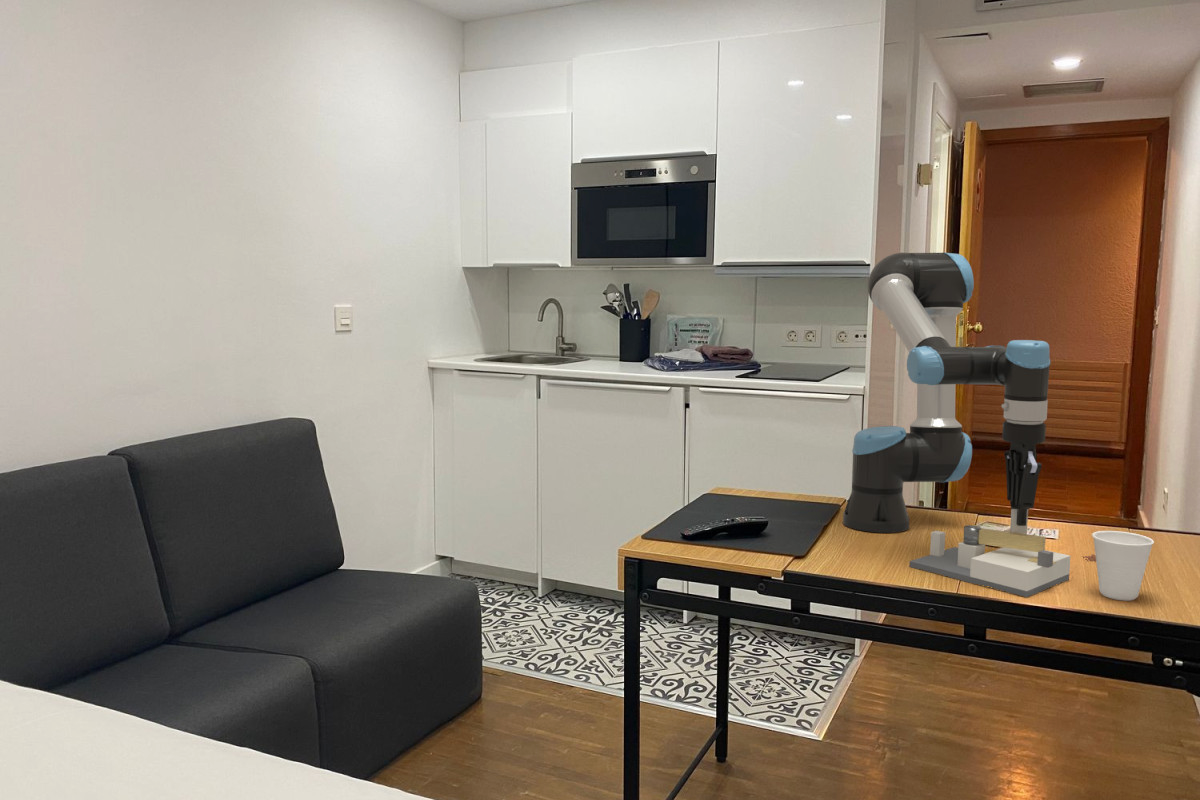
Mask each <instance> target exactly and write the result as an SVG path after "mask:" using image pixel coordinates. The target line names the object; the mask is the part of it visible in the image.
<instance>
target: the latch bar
mask: <svg viewBox="0 0 1200 800" xmlns="http://www.w3.org/2000/svg"><path fill="white" fill-rule="evenodd" d="M1046 539H1047V538H1046V536H1042V535H1035V534H1028V533H1027V534H1022V533H1014V532H1010V531H1006V530H998V529H993V528H992V529H991V528H990V529H989V528H985V527H981V526H979V525H970V524H969V525H963V538H962V540H963V541H962V542H965V543H968V544H984V545H985V546H991V547H992V546H993V547H998V548H999V547H1000V548H1003V547H1005V548H1012V549H1019V550H1026V551H1033V552H1039V551H1041V550H1046Z"/></svg>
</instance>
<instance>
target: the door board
mask: <svg viewBox="0 0 1200 800" xmlns="http://www.w3.org/2000/svg"><path fill="white" fill-rule="evenodd" d="M945 544H946V532H945V531H941V530H934V531H931V532H930V546H929V547H930V550H929V552H930V553H929V554H928V555H925V556H921V557H919V558H915V559H912V560H909V566H908V567H909V568H912V569H917V570H919V569H921V570H920V571H923V570H924V571H923V572H927V571H928V573H931V572H934V573H933V574H935V573H937V574H936V575H938V574H941V575H940V576H942V575H944V576H943V577H946V576H948V577H947V578H951V579H954V578H955V579H954V580H957V579H959V580H958V581H961V580H962V581H961V582H965V583H969V584H973V583H974V585H976V584H979V585H978V586H980V585H984V586H989V587H992V588H995V589H998V590H997V591H999V590H1002V591H1001V592H1003V591H1006V592H1005V593H1007V592H1009V593H1008V594H1011V593H1013V594H1012V595H1014V594H1017V595H1016V596H1018V595H1020V596H1019V597H1022V596H1024V597H1023V598H1026V597H1027V598H1029V597H1032V596H1034V595H1036V594H1038V592H1039V593H1041V592H1044V591H1045V589H1046V590H1048V589H1050V588H1049V587H1051V586H1053V587H1055V586H1057V585H1056V584H1058V585H1059V583H1060V584H1062V583H1065V582H1067V581H1069V580H1070V569H1071V555H1068V554H1065V553H1060V552H1055V551H1050V550H1047V549H1045V550H1041V551H1039V552H1033V551H1026V550H1019V549H1012V548H1005V547H1000V548H998V549H994V550H991V551H989V552H986V545H984V544H968V543H965V542H963V541H961V542H958V546H953V547H949V548H947V549H945V548H946V547H945V546H946V545H945ZM1061 582H1062V583H1061ZM1054 585H1055V586H1054ZM984 586H983V587H984ZM992 588H991V589H992ZM1047 588H1048V589H1047ZM1051 588H1052V587H1051ZM995 589H994V590H995ZM1033 594H1034V595H1033ZM1031 595H1032V596H1031Z"/></svg>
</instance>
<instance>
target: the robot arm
mask: <svg viewBox="0 0 1200 800" xmlns="http://www.w3.org/2000/svg"><path fill="white" fill-rule="evenodd" d="M974 284H975V280H974V274H973V269H972V267H971V265H970V262H969V261H968V260H967V258H966V257H964V256H963V255H962V254H959V253H951V252H898V253H897V252H896V253H893V254H889V255H888V256H886V257H884V258H883V259H881V260H880V261H879V262H877V263H876V264H875V266H874V267H873V268H872V270H871V271H870V274H869V276H868V279H867V292H868V293H867V294H868V296H869V299H870V301H871V302H872V303H873V306H875V308H877V309H878V310H880V311H881V312H882V311H883V313H884V314H885V316H886V317H887V319H888V320H889V322H890V324H891V326H892V327H893V328H894V331H895V332H896V334H897V336H898V338H899V339H900V340H901V342H902V344H903V345H904V347H905V348H906V350H907V352H908V355H907V358H906V359H907V360H906V371H907V372H908V373H907V375H908V377H909V379H910V381H911V382H913V383H914V384H916V418H915V420H913V422H912V423H910V424H909V432H907V431H906V429H905V428H904V427H902V426H894V425H892V426H875V427H869V428H864V429H861V430H859V431H858V432H857V433H856V434H855V435H854V439H853V446H852V449H851V450H852V451H851V452H852V472H851V473H852V476H851V493H850V495H849V498H848V500H847V503H846V506H845V508H844V511H843V515H842V524H843V525H844V526H846V527H848V528H850V529H852V530H853V529H854V530H858V531H863V532H867V533H868V532H870V533H879V534H880V533H881V534H883V533H884V534H885V533H886V534H888V533H889V534H891V533H900V532H904V531H907V530H908V529H909V527H910V517H909V514H908V509H907V507H906V503H905V499H904V495H903V493H904V492H903V491H904V489H903V488H904V483H924V482H925V483H940V484H941V483H948V482H957V481H959V480H961V479H963V477H964V476H965V475H966V473H968V470H969V469H970V466H971V463H972V457H973V444H972V443H971V438H970V436H969V435H968V434H967V433H965V432H963V425H962V424H961V423H960V422H959V421H958V420H957V418H956V385H999V386H1004V394H1003V395H1004V397H1003V398H1004V401H1003V402H1004V403H1002V404H1001V405H1000V406H1001V408H1002V409H1003V418H1004V419H1005V420H1004V422H1002V440H1003V441H1005V442H1007V443H1010V445H1009V450H1005V451H1004V454H1003V455H1004V459H1005V468H1006V469H1005V471H1006V472H1005V474H1006V477H1005V478H1006V499H1007V501H1009V504H1010V510H1011V511H1010V528H1009V532H1014V533H1022V534H1028V521H1029V520H1028V517H1029V510H1030V509H1033V508H1035V507H1034V506H1035V500H1036V494H1037V489H1038V484H1039V483H1038V482H1039V481H1038V480H1039V475H1040V472H1041V470H1042V467H1043V466H1042V463H1041V462H1037V458H1038V454H1037V449H1036V446H1037V444H1043V443H1045V441H1046V432H1047V430H1046V429H1047V425H1046V424H1045V421H1046V420H1048V419H1047V418H1048V417H1047V416H1048V402H1049V400H1048V395H1049V393H1048V392H1049V377H1050V368H1051V367H1050V366H1051V359H1050V354H1051V353H1050V344H1049V343H1048V342H1047V341H1045V340H1035V339H1033V340H1032V339H1016V340H1015V339H1013V340H1010V341H1008V343H1007V344H1006V345H1007V346H1006V347H1005V346H1003V345H987V346H957V341H956V340H957V317H958V315H959V314H960V313H961V312H962V311H963V309H964V304H965V303H968V302H969V301H970V300H971V298H972V296H973V292H974V287H975V285H974Z"/></svg>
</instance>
